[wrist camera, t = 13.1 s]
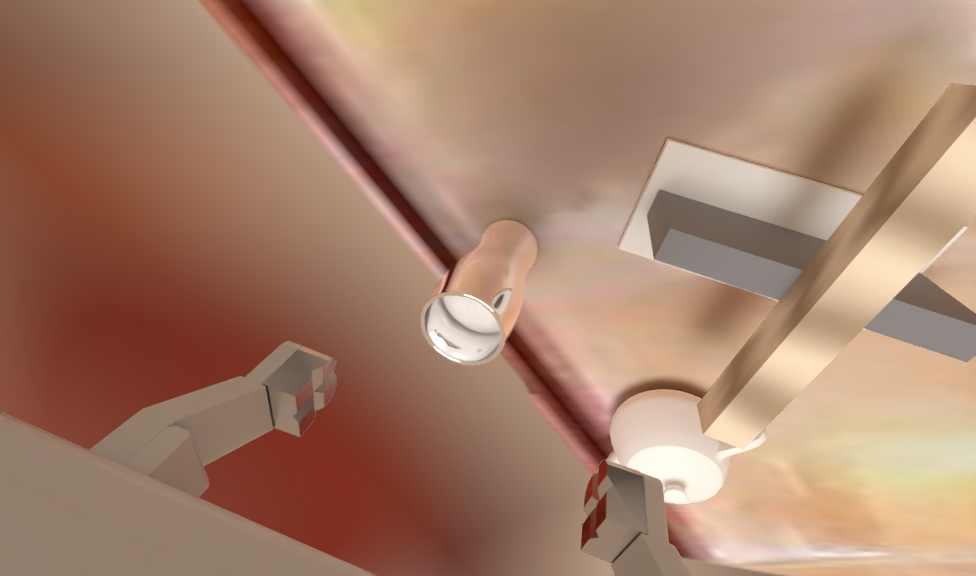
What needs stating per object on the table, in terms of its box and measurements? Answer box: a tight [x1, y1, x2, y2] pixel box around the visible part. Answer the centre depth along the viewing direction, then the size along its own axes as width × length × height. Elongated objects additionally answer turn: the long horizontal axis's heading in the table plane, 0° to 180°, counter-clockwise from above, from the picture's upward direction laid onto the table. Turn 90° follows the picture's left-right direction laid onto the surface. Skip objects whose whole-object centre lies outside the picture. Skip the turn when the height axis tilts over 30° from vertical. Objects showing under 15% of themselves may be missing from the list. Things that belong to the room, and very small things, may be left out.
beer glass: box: [420, 220, 538, 366], centre depth 35 cm, size 7×7×15 cm
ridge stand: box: [618, 138, 976, 362], centre depth 30 cm, size 10×22×10 cm, turn 77°
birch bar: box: [697, 83, 976, 450], centre depth 24 cm, size 24×3×3 cm, turn 167°
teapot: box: [607, 389, 767, 504], centre depth 43 cm, size 20×12×10 cm, turn 134°
